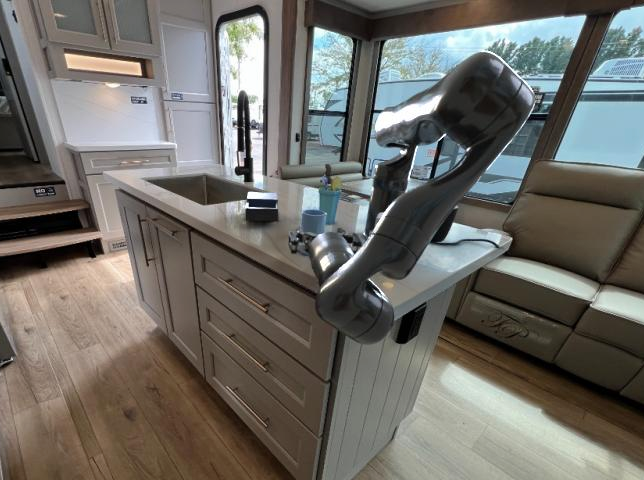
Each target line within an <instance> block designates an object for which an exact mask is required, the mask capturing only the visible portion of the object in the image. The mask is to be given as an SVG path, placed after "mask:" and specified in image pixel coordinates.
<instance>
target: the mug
mask: <svg viewBox="0 0 644 480" xmlns="http://www.w3.org/2000/svg"><path fill="white" fill-rule="evenodd" d="M458 210H459V206H458V205H456V206H455V207H454V209H453V210H452V211H451V212H450V214H449V215H448V216H447V218H446V219H445V220H444V222H443V223H442V224H441V226H440V227H439V229H438V230H437V232H436V233H435V235H434V236H433V238H432V240H431V242H440V243H443V242H444V240H445V239H446V238H447V237H448V235H449V234H450V230H451V229H452V226H453V224H454V221H455V219H456V217H457V213H458Z"/></svg>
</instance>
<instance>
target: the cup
mask: <svg viewBox="0 0 644 480" xmlns="http://www.w3.org/2000/svg"><path fill="white" fill-rule="evenodd" d="M319 182H320V184H321V183H323V182H324V186H321V187H318V194H319V195H318V196H319V197H318V198H319V199H318V201H319V202H318V204H319V205H318V210H321V211H324V212H326V221H325V225H333V224H335V220H336V215H337V211H338V206H339V200H340V196H341V195H342V185H343V182H342V178H341V177H339V176H334V177H333V178H332V179H331V183H330V186H329V184H328V177H327V176H324V177H322V178H321V179H320V180H319Z"/></svg>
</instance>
